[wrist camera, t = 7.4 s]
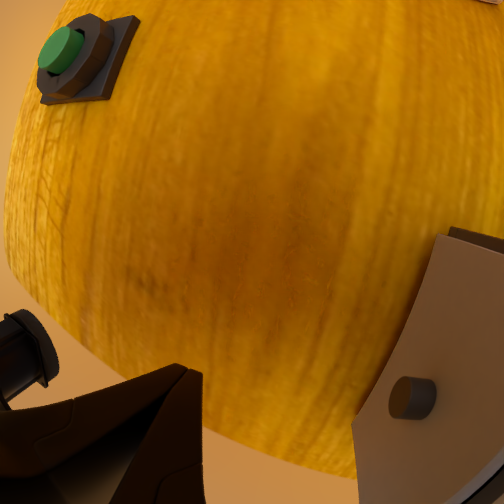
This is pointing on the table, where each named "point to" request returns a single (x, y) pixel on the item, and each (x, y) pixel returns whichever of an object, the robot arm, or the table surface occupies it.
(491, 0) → the ink box
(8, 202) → the table surface
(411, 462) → the drawer
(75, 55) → the button
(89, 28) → the control block
